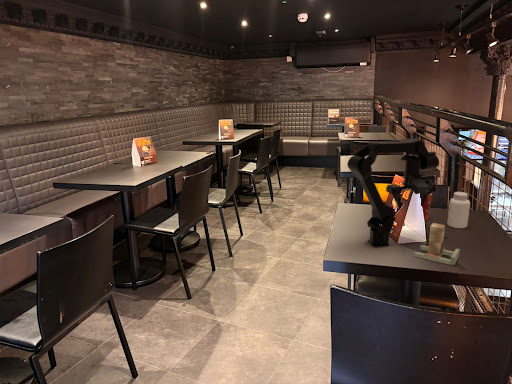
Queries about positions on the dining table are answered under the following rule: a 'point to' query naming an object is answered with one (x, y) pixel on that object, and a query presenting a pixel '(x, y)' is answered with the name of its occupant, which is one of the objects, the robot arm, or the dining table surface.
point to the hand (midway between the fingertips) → (409, 208)
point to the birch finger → (436, 239)
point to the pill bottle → (458, 210)
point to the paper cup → (427, 207)
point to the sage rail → (451, 261)
